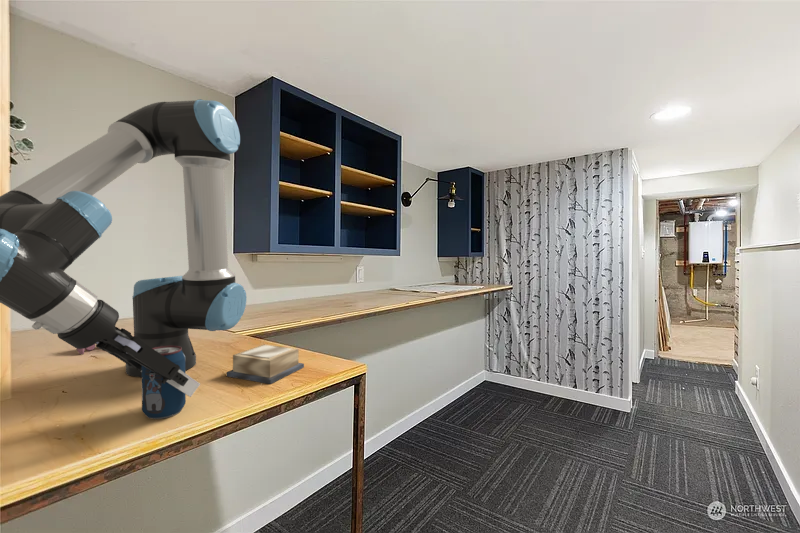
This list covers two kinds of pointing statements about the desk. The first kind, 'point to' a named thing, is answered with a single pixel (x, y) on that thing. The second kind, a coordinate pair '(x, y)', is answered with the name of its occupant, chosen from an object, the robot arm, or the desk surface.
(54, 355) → the desk surface
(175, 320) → the robot arm
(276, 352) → the beige square box
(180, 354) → the soda can
